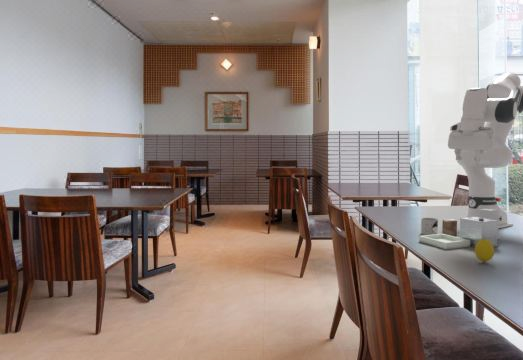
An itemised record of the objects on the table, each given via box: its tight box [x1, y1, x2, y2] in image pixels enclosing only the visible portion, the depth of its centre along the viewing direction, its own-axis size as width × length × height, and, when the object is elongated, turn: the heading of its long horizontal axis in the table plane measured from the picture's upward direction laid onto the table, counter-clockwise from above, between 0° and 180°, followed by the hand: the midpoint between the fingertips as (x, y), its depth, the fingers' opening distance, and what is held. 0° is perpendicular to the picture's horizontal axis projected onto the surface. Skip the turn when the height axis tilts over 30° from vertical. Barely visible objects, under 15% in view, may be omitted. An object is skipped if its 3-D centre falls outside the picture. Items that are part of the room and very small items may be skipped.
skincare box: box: [479, 209, 500, 240], centre depth 174 cm, size 6×4×12 cm
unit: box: [459, 216, 500, 248], centre depth 163 cm, size 9×11×11 cm
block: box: [441, 218, 458, 237], centre depth 179 cm, size 4×4×7 cm
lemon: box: [474, 239, 495, 264], centre depth 137 cm, size 6×6×8 cm
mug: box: [420, 217, 439, 236], centre depth 186 cm, size 10×7×7 cm, turn 147°
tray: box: [418, 233, 471, 250], centre depth 165 cm, size 12×14×2 cm
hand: (467, 161), depth 173 cm, fingers open, 8 cm apart
